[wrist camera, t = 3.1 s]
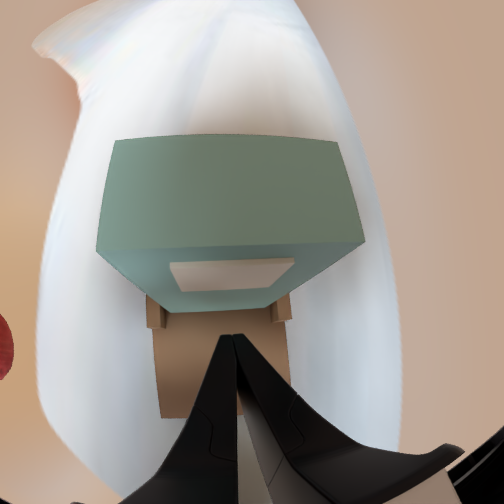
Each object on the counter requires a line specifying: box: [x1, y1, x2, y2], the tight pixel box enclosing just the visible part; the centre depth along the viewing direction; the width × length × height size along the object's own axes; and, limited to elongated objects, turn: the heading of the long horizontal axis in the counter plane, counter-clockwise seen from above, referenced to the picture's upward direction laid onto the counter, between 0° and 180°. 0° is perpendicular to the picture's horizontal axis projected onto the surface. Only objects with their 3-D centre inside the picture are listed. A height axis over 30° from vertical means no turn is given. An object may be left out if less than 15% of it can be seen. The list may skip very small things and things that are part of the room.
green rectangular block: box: [96, 134, 365, 313], centre depth 12 cm, size 3×6×12 cm, turn 95°
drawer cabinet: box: [146, 293, 292, 418], centre depth 14 cm, size 14×9×9 cm, turn 5°
